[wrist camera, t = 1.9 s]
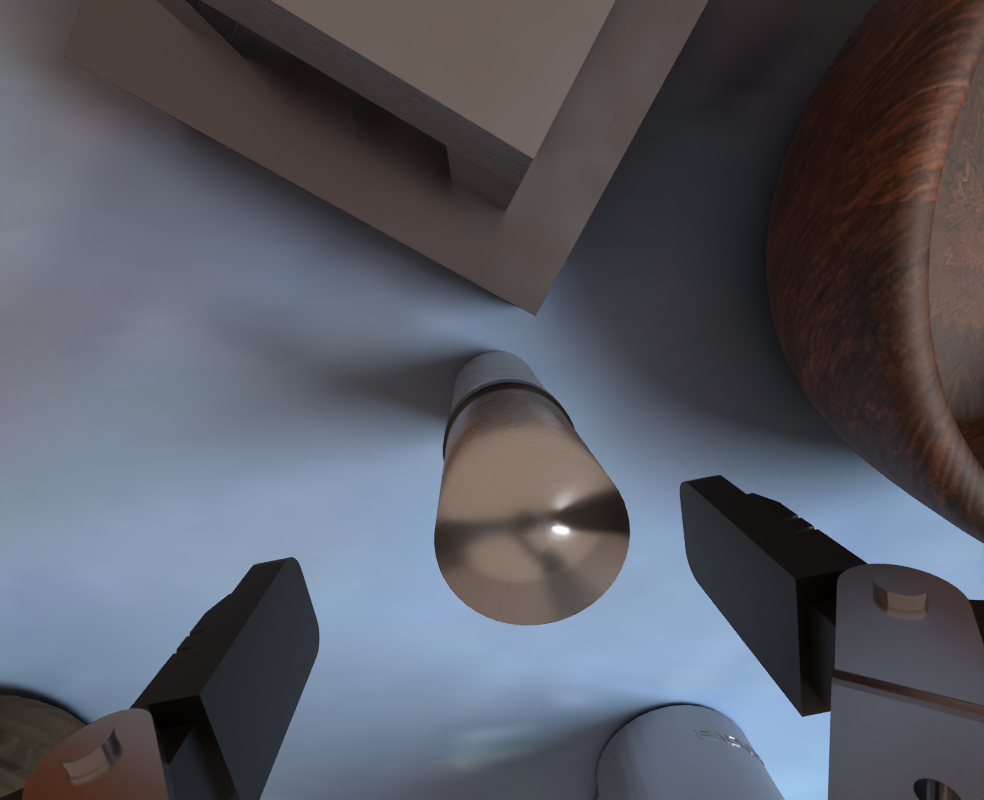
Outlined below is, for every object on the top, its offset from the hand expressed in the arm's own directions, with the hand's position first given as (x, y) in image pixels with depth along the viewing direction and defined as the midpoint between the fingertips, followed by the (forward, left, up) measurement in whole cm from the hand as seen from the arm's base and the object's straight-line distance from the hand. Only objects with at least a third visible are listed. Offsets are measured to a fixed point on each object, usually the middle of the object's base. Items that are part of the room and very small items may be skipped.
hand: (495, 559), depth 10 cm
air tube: (+1, 0, -14) cm, 14 cm away
